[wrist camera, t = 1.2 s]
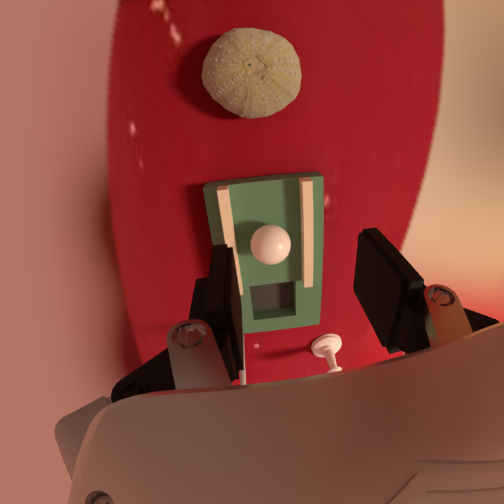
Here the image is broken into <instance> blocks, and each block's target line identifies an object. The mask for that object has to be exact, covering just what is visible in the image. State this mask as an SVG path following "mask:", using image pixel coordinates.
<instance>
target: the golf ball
mask: <svg viewBox="0 0 504 504" xmlns="http://www.w3.org/2000/svg"><path fill="white" fill-rule="evenodd" d="M290 248H291V241H290V238H289V235H288V234H287V232H286V231H285V230H284V229H283V228H281V227H279V226H277V225H271V224H270V225H264V226H262V227H260V228H259V229H257V230H256V231H255V233H254V234H253V236H252V239H251V251H252V253H253V255H254V257H255V258H256V259H257V260H258V261H260V262H262V263H264V264H268V265H274V264H278V263H280V262H282V261H283V260H284V259H285V258H286V257H287V256H288V254H289V252H290Z"/></svg>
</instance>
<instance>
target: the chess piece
mask: <svg viewBox="0 0 504 504" xmlns="http://www.w3.org/2000/svg"><path fill="white" fill-rule="evenodd" d="M341 344H342V343H341V338H340V337H339V336H338V335H336V334H326V335H322V336H320V337H318V338H317V339H316V340H315V341H314V342H313V343H312V346H311V349H312V351H313V353H314V355H316V356H318V357H325V358H326V360H327V362H328V364H329V367H330V370H329V371H328V373H331V372H336V371H341V370H342V369H341V367H337V365H336V360H335V353H336V352H337V351H338V350H339V349H340V347H341Z"/></svg>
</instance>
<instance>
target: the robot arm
mask: <svg viewBox="0 0 504 504" xmlns="http://www.w3.org/2000/svg"><path fill="white" fill-rule="evenodd" d="M423 282H424V280H423V278H422V277H421V276H420V275H419V274H418V272H417V271H416V270H415V269H414V268H413V267H412V266H411V264H410V263H409V262H408V261H407V260H406V259H405V258H404V257H403V255H402V254H401V253H400V252H399V251H398V250H397V249H396V248H395V247H394V246H393V245H392V244H391V242H390V241H389V240H388V239H387V238H386V237H385V236H384V235H383V234H382V233H381V232H380V231H379V230H378V229H377V228H369V229H363V231H362V233H359V236H358V247H357V258H356V267H355V276H354V285H353V287H354V292H355V294H356V296H357V298H358V300H359V302H360V304H361V306H362V308H363V309H364V311H365V313H366V315H367V317H368V319H369V321H370V323H371V325H372V327H373V329H374V331H375V333H376V335H377V337H378V339H379V341H380V343H381V345H382V346H383V347H386V348H387V350H388V352H389V354H391V353H395V352H398V351H403V356H400V357H396V358H393V359H389V360H385V361H381V362H377V363H373V364H369V365H364V366H360V367H356V368H351V369H346V370H341V371H336V372H331V373H326V374H320V375H315V376H309V377H303V378H296V379H289V380H282V381H274V382H266V383H256V384H246V385H236V386H233V385H232V382H233V381H234V380H235V379H239V371H240V370H244V355H243V328H242V304H241V296H240V290H239V284H238V278H237V271H236V265H235V258H234V252H233V247H228V246H227V244H221V245H213V250H212V256H211V263H210V270H209V277H208V278H200V279H196V282H195V288H194V293H193V298H192V303H191V308H190V314H189V319H188V320H185V321H182V322H179V323H178V324H176V325H175V326H173V327H172V328H171V329H170V331H169V332H168V335H167V345H168V348H167V349H165V350H164V351H162V352H161V353H159V354H158V355H157V356H155V357H154V358H152V359H151V360H149V361H148V362H146V363H145V364H143V365H142V366H141V367H139V368H138V369H136V370H135V371H133V372H132V373H130V374H129V375H127V376H126V377H124V378H123V379H121V380H120V381H119V382H118V383H117V384H116V385H115V386H114V388H113V390H112V393H111V396H110V397H108V398H106V397H105V396H102V397H100V398H99V399H97V400H95V401H93V402H91V403H89V404H87V405H86V406H84V407H82V408H80V409H78V410H76V411H74V412H72V413H71V414H69V415H67V416H65V417H63V418H62V419H60V420H59V422H58V423H57V425H56V427H55V438H56V441H57V444H58V446H59V449H60V452H61V455H62V457H63V460H64V463H65V465H66V468H67V470H68V472H69V475H70V477H71V480H72V483H71V489H70V495H69V502H68V504H504V322H501V323H500V322H499V321H498V320H496V319H493V318H491V317H488V316H485V315H482V314H480V313H477V312H474V311H471V310H468V309H465V308H463V307H462V305H461V303H460V300H459V298H458V296H457V295H456V293H455V292H454V291H453V290H452V289H450V288H448V287H446V286H443V285H437V284H435V285H431V286H428V287H426V286H425V285H424V283H423Z"/></svg>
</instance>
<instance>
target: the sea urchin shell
mask: <svg viewBox="0 0 504 504" xmlns="http://www.w3.org/2000/svg"><path fill="white" fill-rule="evenodd" d="M201 77H202V81H203V85H204V86H205V88H206V89H207V91H208V92H209V94H210V95H211V96H212V99H214V100H215V101H217V102H218V103H219V104H220V105H221V106H223V108H225V109H226V110H228V111H230V112H232V113H234V114H237V115H238V116H240V117H244V118H250V119H251V118H259V117H268V116H270V115H272V114H274V113H275V112H277V111H280V110H281V109H284V108H285V106H287V105H288V104H289V103H290V102H292V101H293V100H294V99H295V98H296V96H297V94H298V92H299V91H300V83H301V77H302V75H301V69H300V62H299V58H298V56H297V54H296V52H295V50H294V48H293V46H292V44H290V43H289V42H288V41H287V40H286V38H283V37H281V36H279V35H277V34H275V33H273V32H271V31H265V30H260V29H256V28H238V29H233V30H230V31H228V32H225V33H224V34H223V35H222V36H221V37H220V38H219V39H218V40H217V41H216V42H215V43H213V44H212V46H211V49H210V50H209V52H208V54H207V56H206V58H205V59H204V63H203V69H202V75H201Z"/></svg>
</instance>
